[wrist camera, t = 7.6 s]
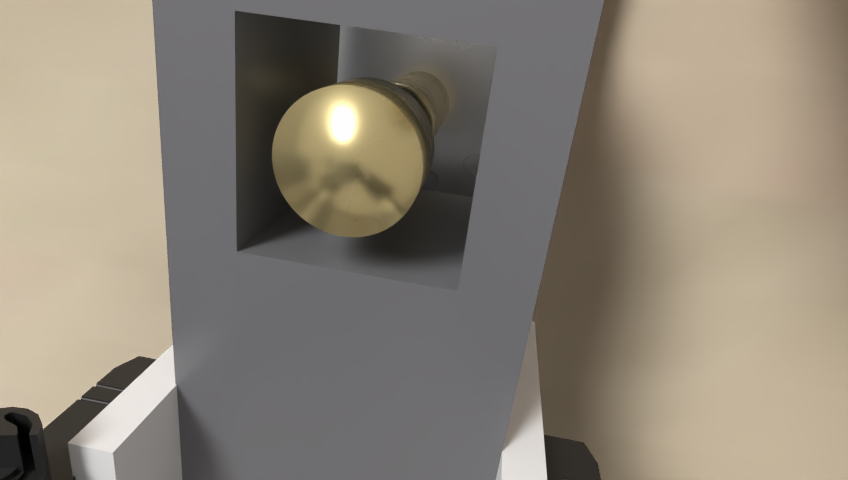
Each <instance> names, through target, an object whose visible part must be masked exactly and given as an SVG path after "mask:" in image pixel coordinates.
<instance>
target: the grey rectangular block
mask: <svg viewBox="0 0 848 480" xmlns="http://www.w3.org/2000/svg"><path fill="white" fill-rule="evenodd" d="M152 3H153V20H154V37H155V53H156V70H157V86H158V103H159V120H160V136H161V153H162V170H163V186H164V203H165V219H166V236H167V253H168V269H169V286H170V303H171V319H172V336H173V352H174V369H175V384H177V398H178V415H179V432H180V449H181V466H182V480H496V476H497V472H498V467H499V463H500V458H501V454H502V451H503V447H504V442H505V438H506V433H507V429H508V424H509V420H510V416H511V411H512V407H513V402H514V398H515V393H516V389H517V385H518V380H519V376H520V371H521V367H522V362H523V358H524V354H525V349H526V345H527V340H528V336H529V331H530V327H531V323H532V318H533V314H534V309H535V305H536V300H537V296H538V292H539V287H540V283H541V278H542V274H543V270H544V265H545V261H546V256H547V252H548V247H549V243H550V239H551V234H552V230H553V225H554V221H555V216H556V212H557V208H558V203H559V199H560V194H561V190H562V185H563V181H564V177H565V172H566V168H567V163H568V159H569V154H570V150H571V146H572V141H573V137H574V132H575V128H576V123H577V119H578V115H579V110H580V106H581V101H582V97H583V92H584V88H585V84H586V79H587V75H588V70H589V66H590V61H591V57H592V53H593V48H594V44H595V39H596V35H597V30H598V26H599V22H600V17H601V13H602V8H603V4H604V0H152ZM340 25H344V26H351V27H359V28H366V29H373V30H381V31H388V32H396V33H403V34H410V35H418V36H425V37H432V38H440V39H447V40H455V41H462V42H469V43H477V44H484V45H491V46H498V48H497V54H496V60H495V66H494V72H493V78H492V84H491V91H490V97H489V103H488V109H487V115H486V121H485V127H484V133H483V140H482V146H481V152H480V158H479V164H478V170H477V176H476V182H475V189H474V195H473V197H467V196H461V195H455V194H449V193H443V192H437V191H430V190H424V189H420V191H419V193H418V195H417V197H416V199H415V200H414V202H413V204H412V206H411V207H410V208H409V210H408V211H407V213H406V214H405V215H404V216H403V217H402V218H401V219H400V220H399V221H398V222H396V223H395V224H394V225H392V226H391V227H389V228H388V229H386V230H384V231H381V232H379V233H376V234H373V235H370V236H364V237H343V236H337V235H333V234H330V233H327V232H324V231H322V230H320V229H318V228H316V227H314V226H312V225H311V224H309V223H308V222H306V221H305V220H304V219H303V218H301V217H300V216H299V215H298V214H297V213H296V212H295V211H294V210H293V209H292V208H291V206H290V205H289V204H288V202H287V201H286V200H285V198H284V196H283V194H282V193H281V191H280V189H279V186H278V184H277V181H276V178H275V175H274V170H273V164H272V146H273V140H274V136H275V132H276V130H277V127H278V125H279V123H280V121H281V119H282V117H283V116H284V114H285V113H286V112H287V110H288V109H289V108H290V107H291V106H292V105H293V104H294V103H295V102H296V101H297V100H299V99H300V98H301V97H303V96H304V95H306V94H308V93H310V92H312V91H315V90H317V89H320V88H323V87H326V86H329V85H332V84H335V83H337V75H338V58H339V42H340Z"/></svg>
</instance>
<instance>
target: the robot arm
mask: <svg viewBox="0 0 848 480" xmlns="http://www.w3.org/2000/svg"><path fill="white" fill-rule="evenodd" d="M0 480H182V466H181V449H180V432H179V415H178V398H177V384H175V369H174V352H173V345H172V346H171V347H169V348H168V349H167V350H166V351H165V352H164V353H163V354H162V355H161V356H160V357H159V358H158V359H157V360H156V359H151V358H146V357H141V356H139V357H136V358H134V359H132V360H130V361H128V362H126V363H124V364H122V365H120V366H118V367H116V368H114V369H113V370H112V371H111V372H109V373H108V374H107V375H106V376H105V377H104V378H102V379H101V380H100V381H99V382H98V383H97V385H96V387H92V388H91V389H90V390H89V391H87V392H86V393H85V394H84V395H83V396H82V398H81V400H77V401H76V402H75V403H73V404H72V405H71V406H70V407H69V408H68V409H66V410H65V411H64V412H63V413H62V414H61V415H59V416H58V417H57V418H56V419H55V420H54V421H52V422H51V423H50V424H49V425H48V426H47V427H46V428H44V429H43V428H42V423H41V420H40V418H39V415H38V414H36V413H34V412H33V411H31V410H29V409H25V408H17V407H8V408H0ZM496 480H601V478H600V473H599V468H598V463H597V462H596V460H595V459H594V457H593V456H592V454H591V453H590V451H589V450H588V448H587V447H586V445H585V444H584V443H582V442H577V441H572V440H567V439H562V438H557V437H552V436H547V435H544V433H543V420H542V407H541V395H540V382H539V370H538V357H537V344H536V332H535V322H533V321H532V323H531V327H530V331H529V336H528V340H527V345H526V349H525V354H524V358H523V362H522V367H521V371H520V376H519V380H518V385H517V389H516V393H515V398H514V402H513V407H512V411H511V416H510V420H509V424H508V429H507V433H506V438H505V442H504V447H503V451H502V454H501V458H500V463H499V467H498V472H497V476H496Z"/></svg>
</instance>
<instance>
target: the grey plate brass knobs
mask: <svg viewBox="0 0 848 480" xmlns="http://www.w3.org/2000/svg"><path fill="white" fill-rule="evenodd" d="M497 48H498V46H491V45H484V44H477V43H469V42H462V41H455V40H447V39H440V38H432V37H425V36H418V35H410V34H403V33H396V32H388V31H381V30H373V29H366V28H359V27H351V26H344V25H340V42H339V58H338V75H337V83H335V84H332V85H329V86H326V87H323V88H320V89H317V90H315V91H312V92H310V93H308V94H306V95H304V96H303V97H301V98H300V99H299V100H297V101H296V102H295V103H294V104H293V105H292V106H291V107H290V108H289V109H288V110H287V112H286V113H285V114H284V116H283V117H282V119H281V121H280V123H279V125H278V127H277V130H276V132H275V136H274V140H273V146H272V164H273V170H274V175H275V178H276V181H277V184H278V186H279V189H280V191H281V193H282V194H283V196H284V198H285V200H286V201H287V202H288V204H289V205H290V206H291V208H292V209H293V210H294V211H295V212H296V213H297V214H298V215H299V216H300V217H301V218H303V219H304V220H305V221H306V222H308V223H309V224H311V225H312V226H314V227H316V228H318V229H320V230H322V231H324V232H327V233H330V234H333V235H337V236H343V237H364V236H370V235H373V234H376V233H379V232H381V231H384V230H386V229H388V228H389V227H391V226H392V225H394V224H395V223H396V222H398V221H399V220H400V219H401V218H402V217H403V216H404V215H405V214H406V213H407V211H408V210H409V208H410V207H411V206H412V204H413V202H414V200H415V199H416V197H417V195H418V193H419V191H420V189H424V190H430V191H437V192H443V193H449V194H455V195H461V196H467V197H473V195H474V189H475V182H476V176H477V170H478V164H479V158H480V152H481V146H482V140H483V133H484V127H485V121H486V115H487V109H488V103H489V97H490V91H491V84H492V78H493V72H494V66H495V60H496V54H497Z"/></svg>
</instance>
